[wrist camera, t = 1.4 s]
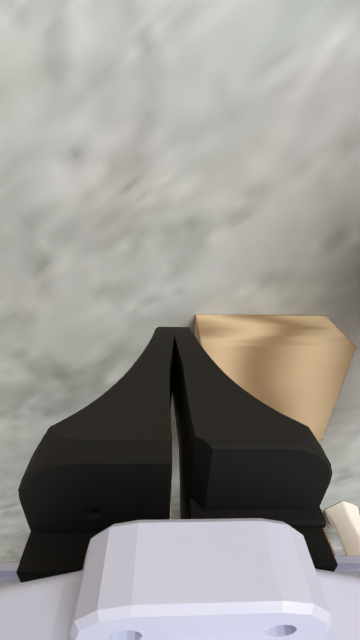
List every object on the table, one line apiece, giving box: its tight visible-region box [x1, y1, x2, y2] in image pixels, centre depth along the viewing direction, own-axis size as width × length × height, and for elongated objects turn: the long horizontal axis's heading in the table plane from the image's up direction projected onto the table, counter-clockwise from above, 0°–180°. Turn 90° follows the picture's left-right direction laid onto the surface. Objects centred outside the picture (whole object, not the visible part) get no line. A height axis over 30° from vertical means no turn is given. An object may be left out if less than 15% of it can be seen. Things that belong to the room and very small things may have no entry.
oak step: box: [195, 315, 356, 444], centre depth 24 cm, size 10×13×4 cm
